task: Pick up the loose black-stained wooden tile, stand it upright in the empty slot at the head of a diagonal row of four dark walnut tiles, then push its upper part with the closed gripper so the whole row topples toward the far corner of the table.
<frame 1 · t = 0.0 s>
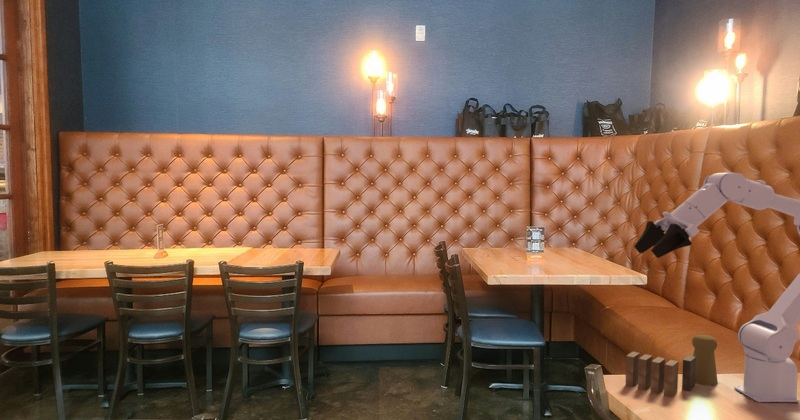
hand: (645, 252, 114), 32 cm above the table, tool tilted 50°, fingers open, 7 cm apart
tile3: (657, 389, 119), on the table
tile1: (688, 387, 121), on the table
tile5: (632, 383, 123), on the table
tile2: (670, 393, 117), on the table
tile4: (644, 386, 121), on the table
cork: (703, 381, 125), on the table
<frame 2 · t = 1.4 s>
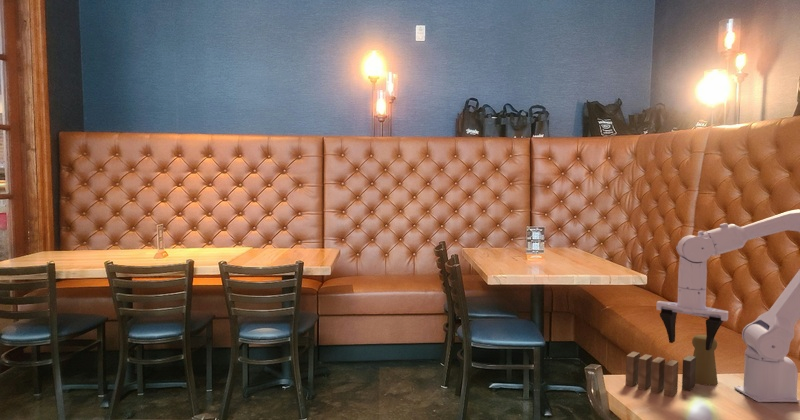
hand: (689, 345, 120), 10 cm above the table, tool pointing down, fingers open, 7 cm apart
nothing on the table moved.
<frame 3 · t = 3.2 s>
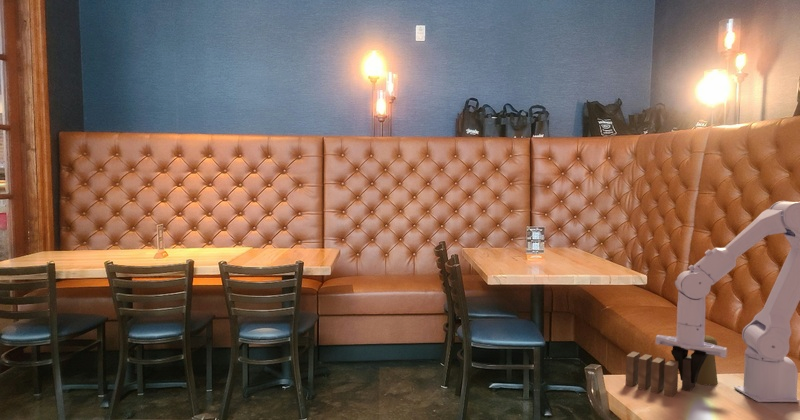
hand: (688, 380, 121), 2 cm above the table, tool pointing down, fingers closed on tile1, 2 cm apart
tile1: (688, 387, 121), on the table, touching gripper
everything else where it was.
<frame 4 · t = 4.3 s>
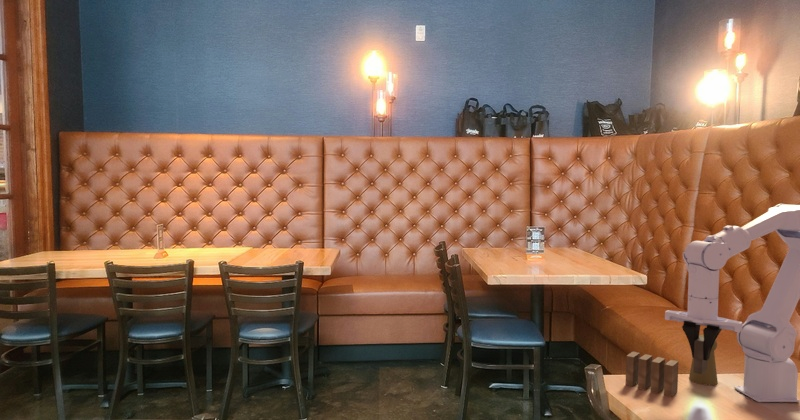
hand: (700, 358, 113), 9 cm above the table, tool pointing down, fingers closed on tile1
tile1: (700, 370, 113), point 7 cm above the table, touching gripper
everything else where it was.
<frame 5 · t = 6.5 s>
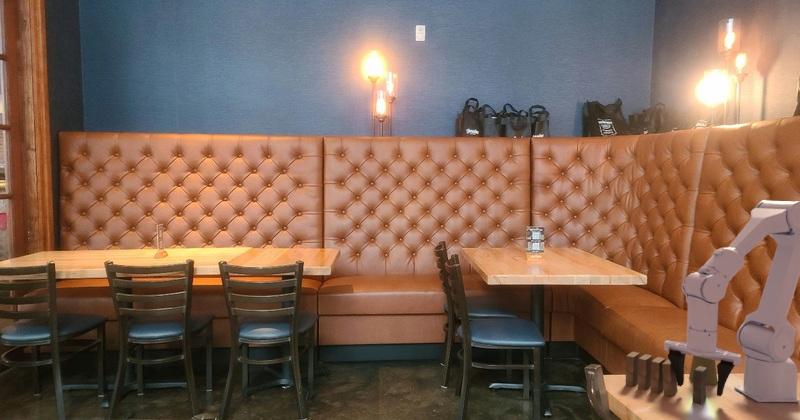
hand: (699, 389, 113), 2 cm above the table, tool pointing down, fingers open, 7 cm apart
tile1: (699, 400, 113), on the table
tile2: (670, 392, 117), on the table, touching gripper
everything else where it was.
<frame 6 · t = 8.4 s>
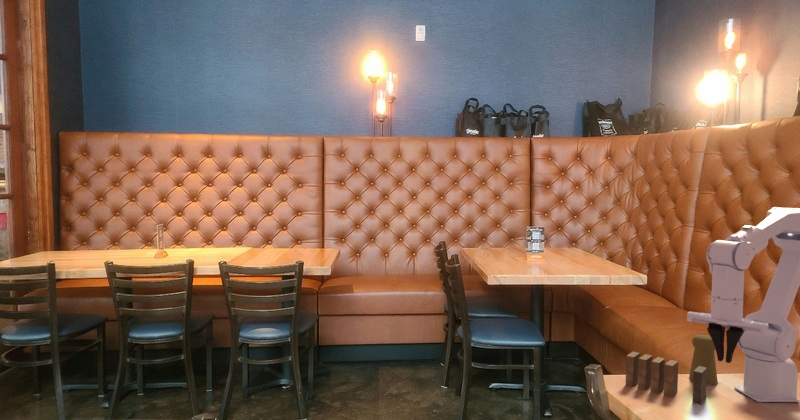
hand: (724, 360, 110), 10 cm above the table, tool pointing down, fingers closed
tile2: (670, 393, 117), on the table
everything else where it was.
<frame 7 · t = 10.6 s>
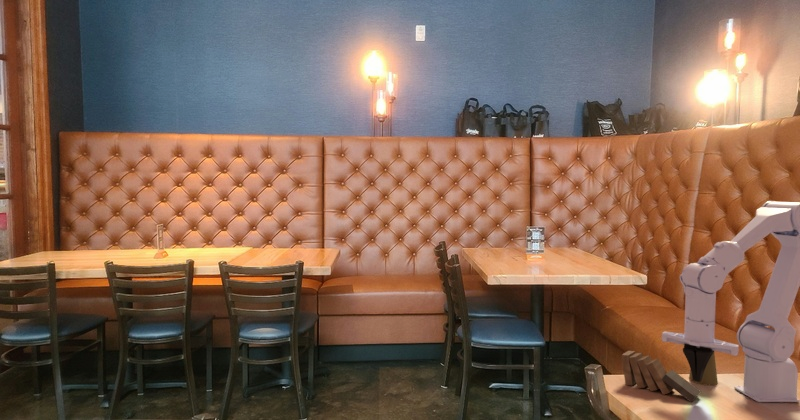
hand: (697, 380, 114), 4 cm above the table, tool pointing down, fingers closed
tile3: (656, 388, 119), on the table, tilted 27°, touching tile4
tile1: (696, 396, 114), point 1 cm above the table, tilted 61°
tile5: (632, 382, 123), on the table, tilted 9°
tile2: (669, 390, 118), on the table, tilted 34°
tile4: (644, 385, 121), on the table, tilted 19°, touching tile3
everything else where it was.
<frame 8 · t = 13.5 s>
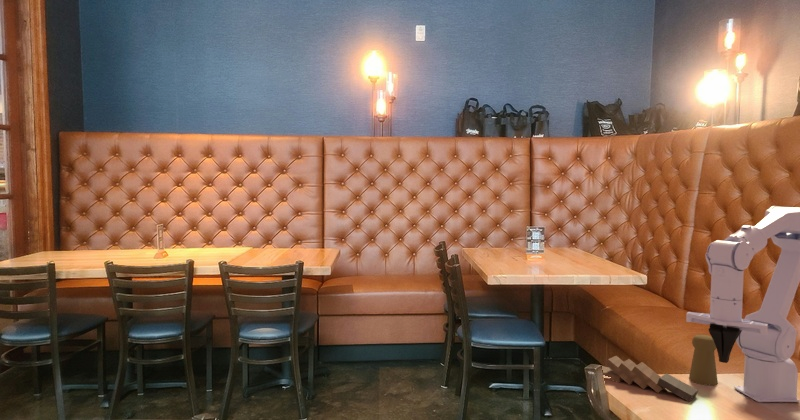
hand: (723, 361, 110), 10 cm above the table, tool pointing down, fingers closed
tile3: (649, 384, 121), point 1 cm above the table, tilted 60°, touching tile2, tile4
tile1: (693, 395, 114), point 1 cm above the table, tilted 73°, touching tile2
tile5: (623, 377, 125), point 1 cm above the table, tilted 90°, touching tile4
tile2: (663, 388, 118), point 1 cm above the table, tilted 60°, touching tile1, tile3
tile4: (635, 380, 123), point 1 cm above the table, tilted 61°, touching tile3, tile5
everything else where it was.
at the end: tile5 tilted 90°; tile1 tilted 73°; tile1 inside the target area (1.1 cm from its centre), point 0.7 cm above the table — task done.
